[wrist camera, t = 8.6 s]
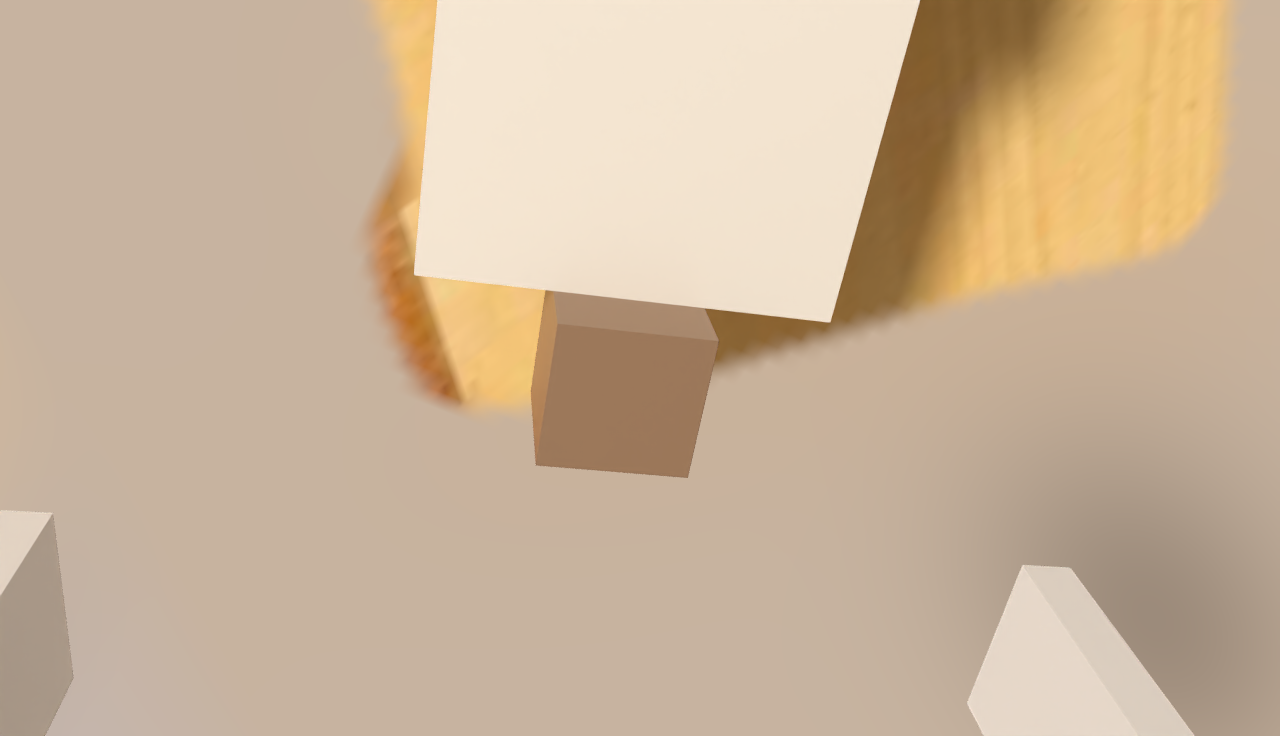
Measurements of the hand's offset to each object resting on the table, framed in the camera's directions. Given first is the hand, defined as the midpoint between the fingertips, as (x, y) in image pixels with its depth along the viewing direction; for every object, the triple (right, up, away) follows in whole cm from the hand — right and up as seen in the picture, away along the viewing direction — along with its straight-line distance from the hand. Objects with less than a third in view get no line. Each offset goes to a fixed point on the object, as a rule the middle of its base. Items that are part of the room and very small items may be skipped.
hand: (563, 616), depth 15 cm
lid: (+2, +11, +12) cm, 17 cm away
